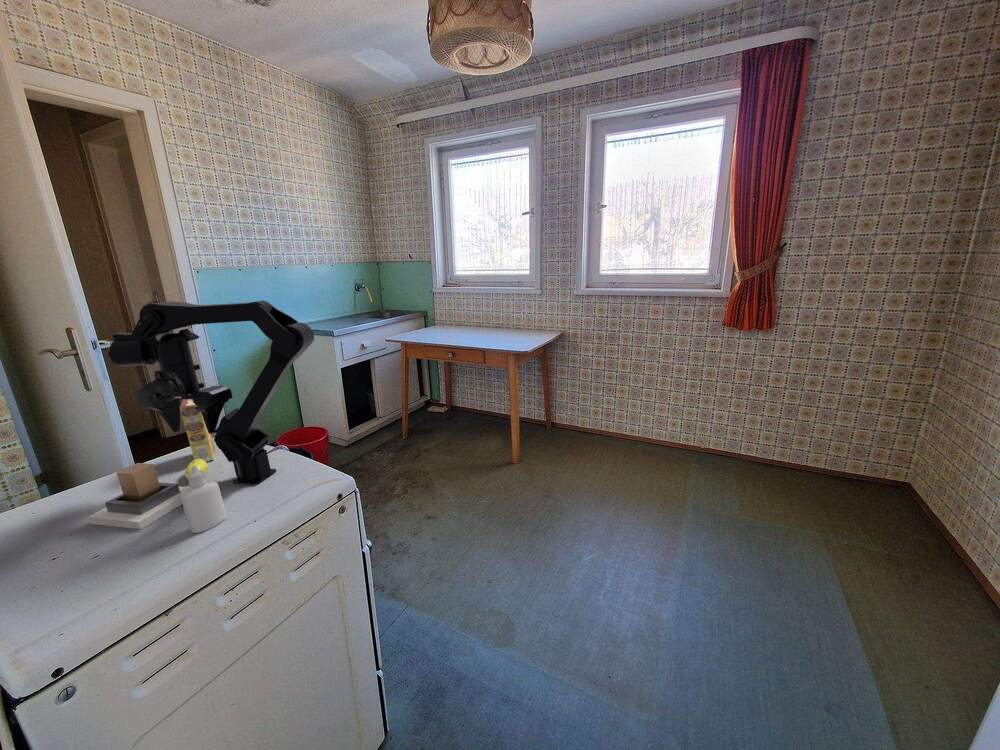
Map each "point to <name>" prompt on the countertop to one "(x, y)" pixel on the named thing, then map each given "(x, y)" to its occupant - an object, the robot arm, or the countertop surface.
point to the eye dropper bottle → (202, 502)
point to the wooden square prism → (138, 482)
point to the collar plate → (139, 508)
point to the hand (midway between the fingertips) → (194, 432)
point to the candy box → (197, 431)
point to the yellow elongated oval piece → (199, 464)
